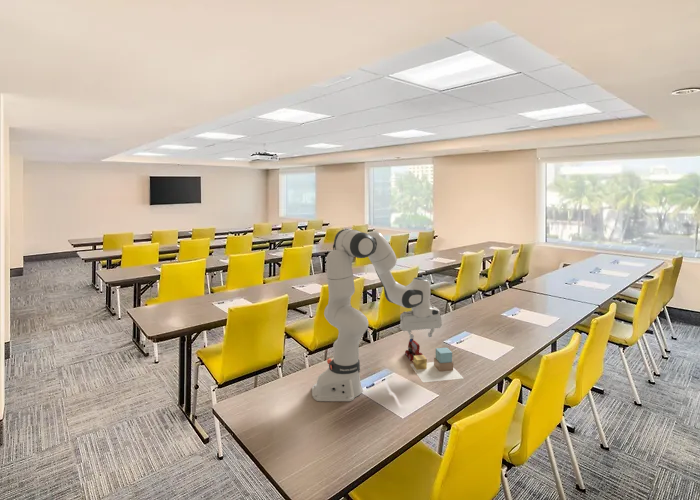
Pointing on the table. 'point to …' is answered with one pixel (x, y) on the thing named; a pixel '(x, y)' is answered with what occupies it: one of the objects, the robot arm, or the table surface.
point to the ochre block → (420, 362)
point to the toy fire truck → (412, 350)
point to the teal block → (443, 355)
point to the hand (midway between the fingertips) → (420, 337)
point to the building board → (437, 372)
